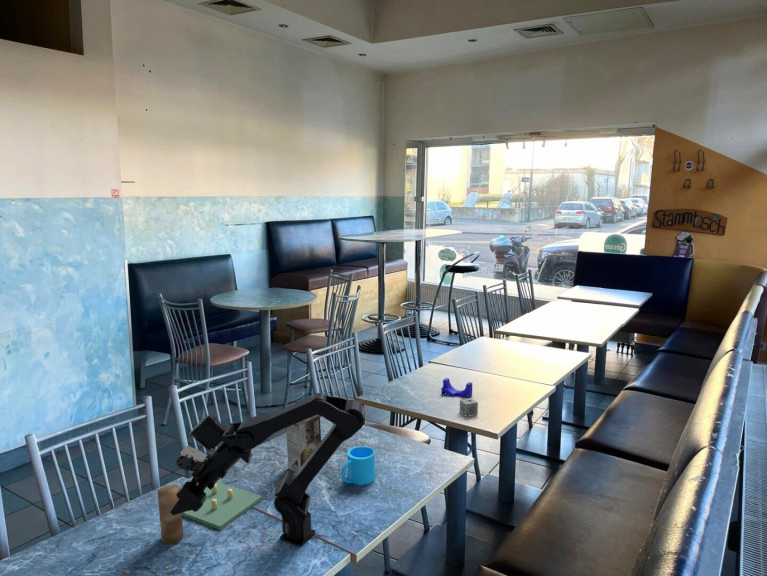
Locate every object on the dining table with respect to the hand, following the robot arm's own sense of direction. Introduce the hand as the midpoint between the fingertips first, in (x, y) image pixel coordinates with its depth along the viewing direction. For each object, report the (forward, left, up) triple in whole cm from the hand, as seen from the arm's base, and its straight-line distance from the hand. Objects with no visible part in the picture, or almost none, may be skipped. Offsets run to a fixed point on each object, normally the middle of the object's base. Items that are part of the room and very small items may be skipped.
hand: (178, 502), depth 135 cm
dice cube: (-36, -107, -10) cm, 113 cm away
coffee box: (-5, -44, -10) cm, 45 cm away
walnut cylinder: (+2, +1, -9) cm, 10 cm away
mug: (-24, -44, -10) cm, 51 cm away
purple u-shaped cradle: (-25, -123, -10) cm, 126 cm away
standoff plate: (+4, -15, -9) cm, 18 cm away
